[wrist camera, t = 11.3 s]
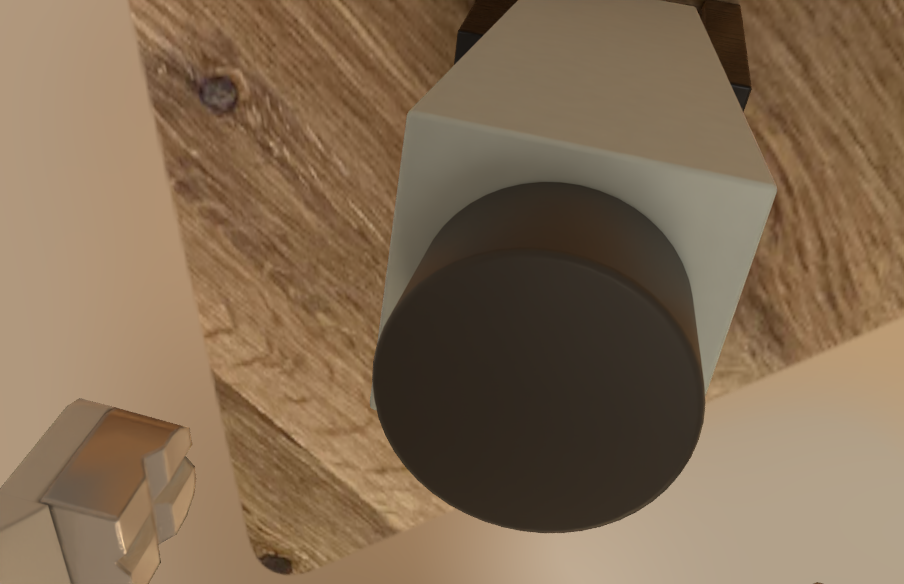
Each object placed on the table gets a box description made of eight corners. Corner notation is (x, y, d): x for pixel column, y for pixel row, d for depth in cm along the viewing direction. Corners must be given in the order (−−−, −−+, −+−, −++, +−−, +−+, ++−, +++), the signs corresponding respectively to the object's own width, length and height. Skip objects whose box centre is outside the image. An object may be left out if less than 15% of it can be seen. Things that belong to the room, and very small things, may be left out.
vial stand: (499, -41, 24) (457, 30, 20) (741, 4, 23) (752, 87, 19) (462, 222, 30) (423, 322, 25) (656, 265, 29) (650, 375, 25)
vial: (351, 164, 7) (315, 511, 9) (816, 264, 7) (683, 607, 9) (538, -23, 22) (509, 129, 23) (696, 6, 21) (655, 159, 23)
